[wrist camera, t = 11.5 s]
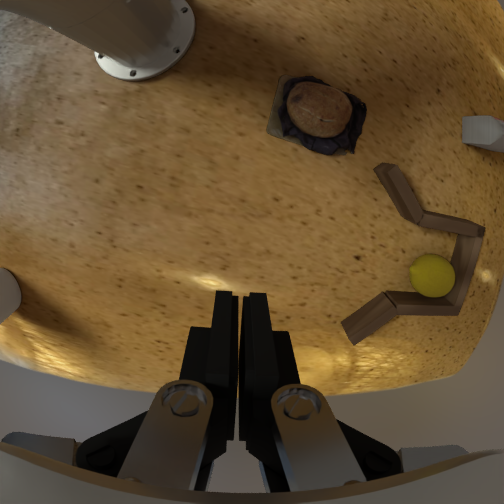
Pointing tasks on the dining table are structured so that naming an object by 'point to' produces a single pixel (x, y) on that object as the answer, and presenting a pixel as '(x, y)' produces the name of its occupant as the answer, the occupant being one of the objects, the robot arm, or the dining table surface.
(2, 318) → the milk bottle
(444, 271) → the lemon
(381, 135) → the dining table surface
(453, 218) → the corral
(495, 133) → the grey block
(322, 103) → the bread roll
